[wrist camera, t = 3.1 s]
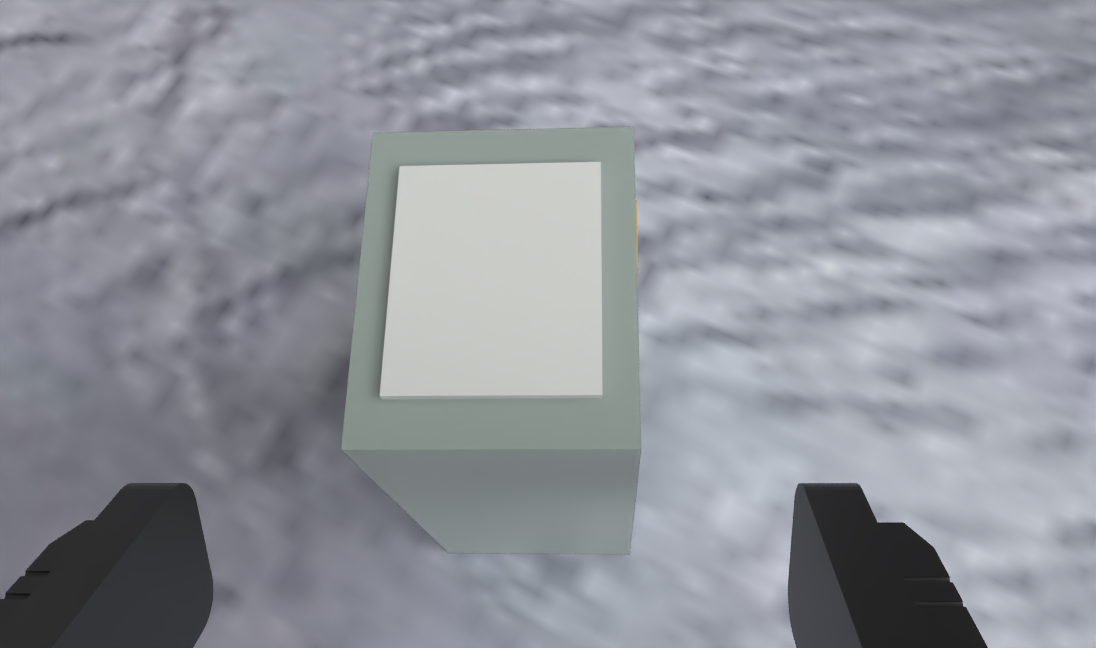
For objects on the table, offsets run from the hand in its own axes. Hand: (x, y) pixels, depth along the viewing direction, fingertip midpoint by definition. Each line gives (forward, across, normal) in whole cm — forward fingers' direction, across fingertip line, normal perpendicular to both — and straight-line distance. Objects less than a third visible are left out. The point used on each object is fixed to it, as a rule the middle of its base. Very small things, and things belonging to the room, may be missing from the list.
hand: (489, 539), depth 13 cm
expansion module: (+9, 0, +4) cm, 9 cm away
